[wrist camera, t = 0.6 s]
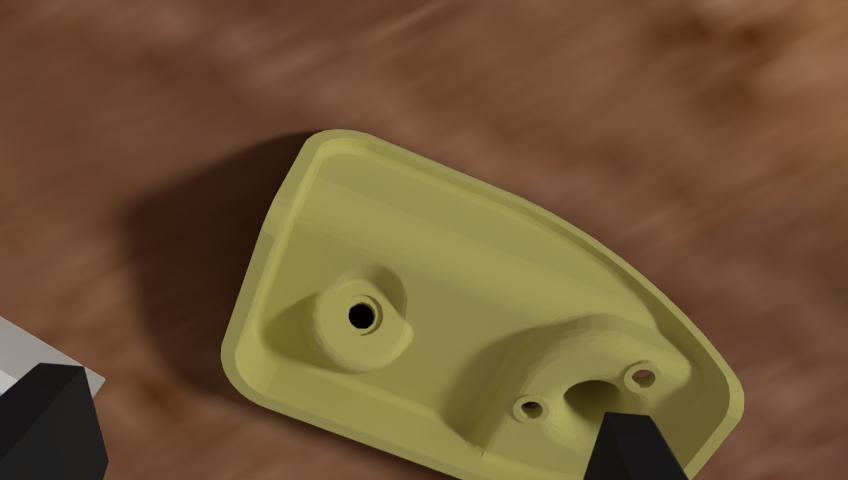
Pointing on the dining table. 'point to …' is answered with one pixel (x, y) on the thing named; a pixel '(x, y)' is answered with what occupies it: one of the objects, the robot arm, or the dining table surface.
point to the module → (31, 357)
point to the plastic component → (460, 323)
